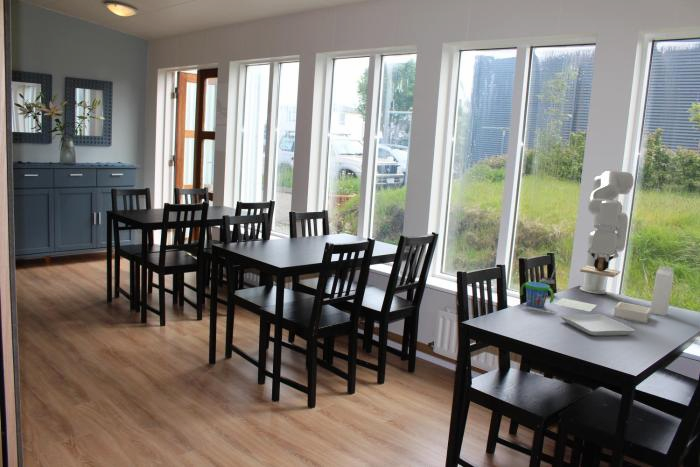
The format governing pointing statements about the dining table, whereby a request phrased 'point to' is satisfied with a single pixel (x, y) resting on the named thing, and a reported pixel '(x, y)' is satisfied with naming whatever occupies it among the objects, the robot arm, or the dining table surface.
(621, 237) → the robot arm
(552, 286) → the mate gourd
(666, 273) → the milk
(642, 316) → the cream square dish
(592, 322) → the salad plate
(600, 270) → the lid
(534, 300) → the snack cup
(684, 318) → the dining table surface
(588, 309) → the mat
